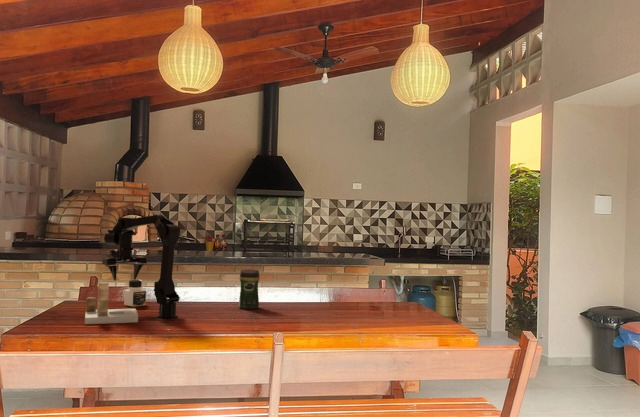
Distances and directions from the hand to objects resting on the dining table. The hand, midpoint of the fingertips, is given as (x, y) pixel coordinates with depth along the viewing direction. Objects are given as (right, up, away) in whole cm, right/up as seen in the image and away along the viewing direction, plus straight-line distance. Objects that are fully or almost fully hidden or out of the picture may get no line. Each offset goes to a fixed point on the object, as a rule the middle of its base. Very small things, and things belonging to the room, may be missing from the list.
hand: (124, 280), depth 251 cm
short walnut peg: (-9, -11, -16) cm, 21 cm away
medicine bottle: (0, -14, +15) cm, 21 cm away
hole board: (+1, -14, -19) cm, 23 cm away
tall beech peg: (-1, -11, -24) cm, 26 cm away
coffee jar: (+53, -16, +18) cm, 58 cm away
